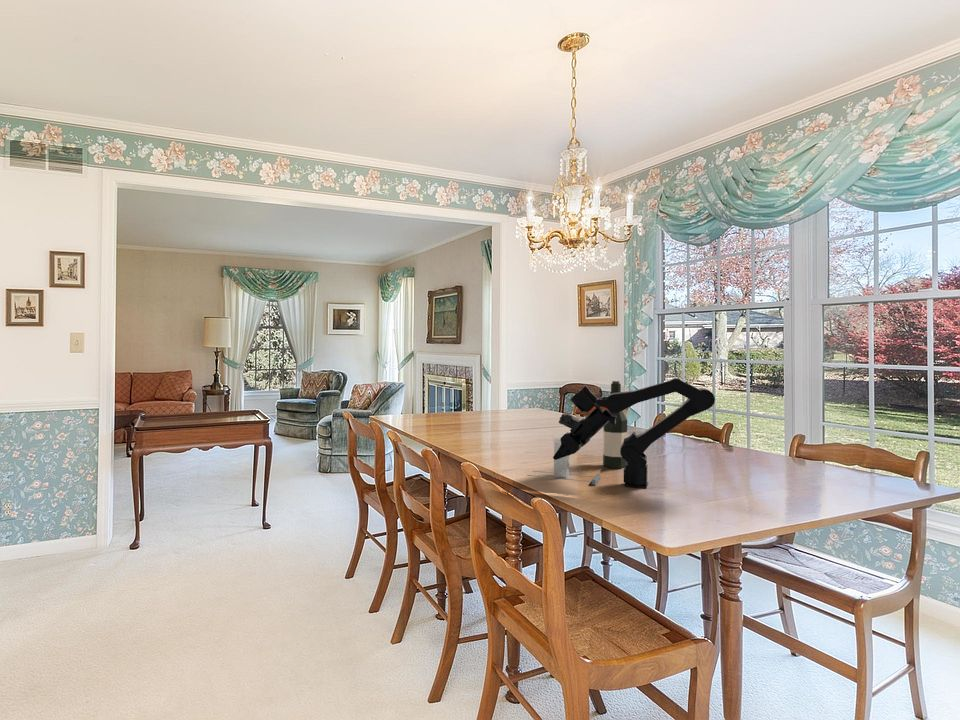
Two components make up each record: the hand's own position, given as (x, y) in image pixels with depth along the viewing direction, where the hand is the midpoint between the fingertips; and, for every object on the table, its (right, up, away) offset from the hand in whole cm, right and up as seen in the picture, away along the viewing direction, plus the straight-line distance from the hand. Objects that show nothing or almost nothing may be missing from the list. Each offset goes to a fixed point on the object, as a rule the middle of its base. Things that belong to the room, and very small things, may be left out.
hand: (557, 456), depth 178 cm
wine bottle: (+23, -7, +18) cm, 30 cm away
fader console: (+1, -7, 0) cm, 7 cm away
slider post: (+1, -6, 0) cm, 6 cm away
